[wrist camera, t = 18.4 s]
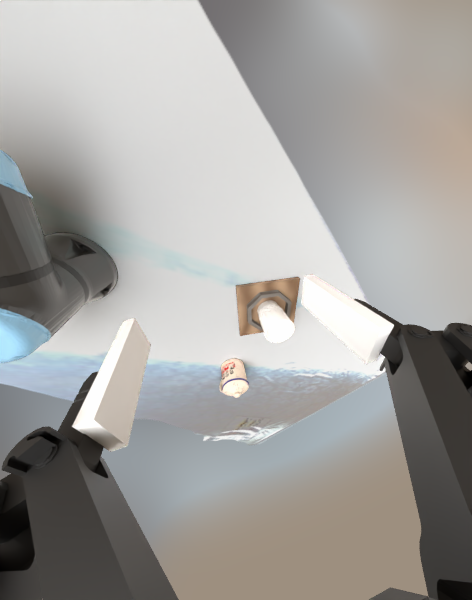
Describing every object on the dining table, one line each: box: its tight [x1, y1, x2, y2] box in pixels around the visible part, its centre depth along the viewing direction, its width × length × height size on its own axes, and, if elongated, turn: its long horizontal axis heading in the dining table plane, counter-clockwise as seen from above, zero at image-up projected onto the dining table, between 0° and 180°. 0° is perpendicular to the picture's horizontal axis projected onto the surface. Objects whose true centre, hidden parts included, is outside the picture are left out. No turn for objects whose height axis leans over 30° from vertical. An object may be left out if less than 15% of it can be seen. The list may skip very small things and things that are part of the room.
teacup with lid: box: [219, 359, 249, 398], centre depth 61 cm, size 12×9×12 cm
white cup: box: [257, 300, 295, 343], centre depth 48 cm, size 8×8×10 cm
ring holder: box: [236, 277, 300, 336], centre depth 52 cm, size 18×18×3 cm
